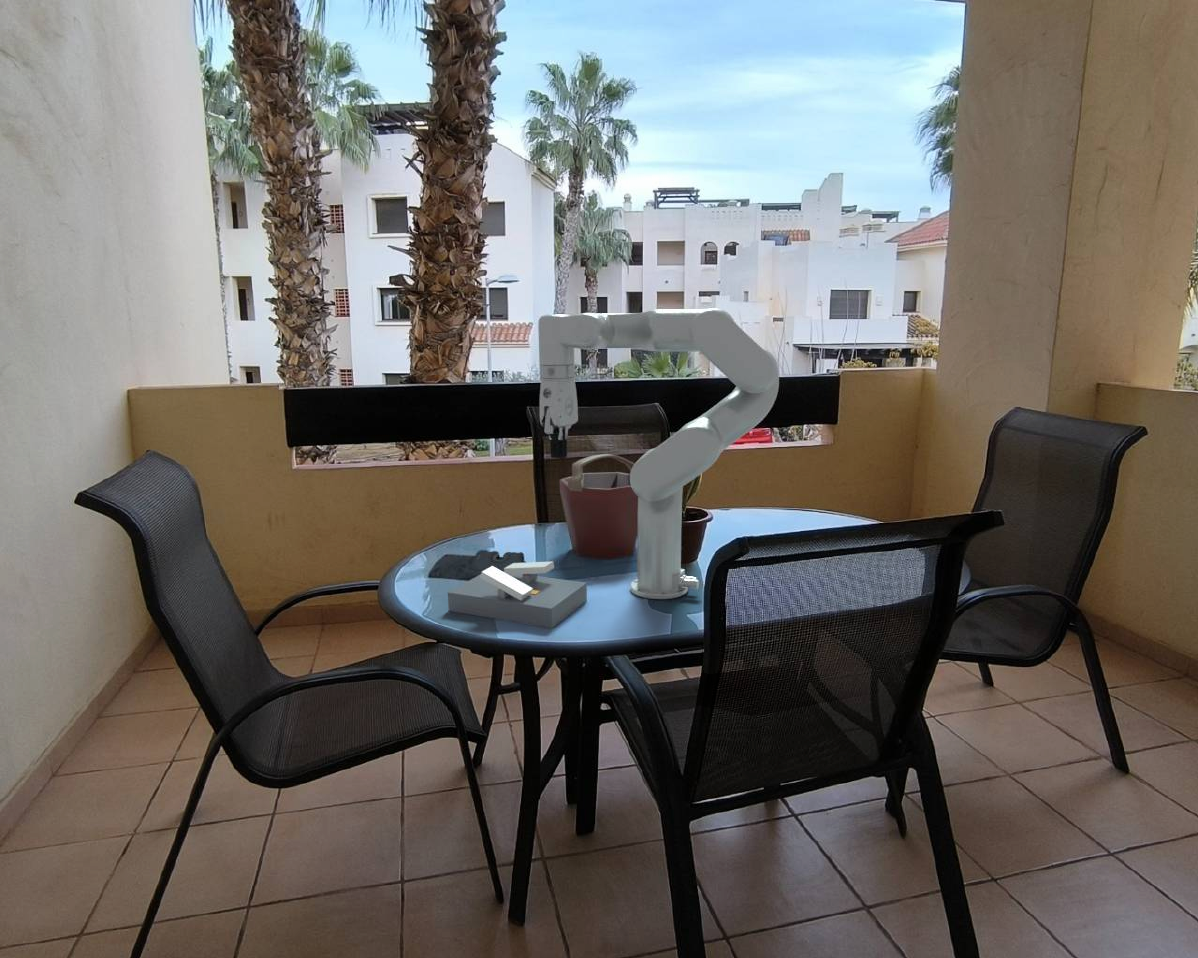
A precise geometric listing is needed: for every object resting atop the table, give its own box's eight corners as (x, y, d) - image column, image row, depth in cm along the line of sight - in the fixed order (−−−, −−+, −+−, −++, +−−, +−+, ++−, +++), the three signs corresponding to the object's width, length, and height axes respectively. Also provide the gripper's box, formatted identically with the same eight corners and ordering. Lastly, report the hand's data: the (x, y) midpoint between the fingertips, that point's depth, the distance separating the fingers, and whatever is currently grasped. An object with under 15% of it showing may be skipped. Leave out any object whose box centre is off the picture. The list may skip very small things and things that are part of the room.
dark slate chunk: (448, 560, 190) (447, 542, 189) (531, 564, 186) (531, 546, 185) (422, 580, 175) (421, 560, 174) (512, 585, 171) (512, 565, 170)
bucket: (582, 568, 181) (580, 466, 176) (542, 546, 200) (539, 453, 195) (665, 552, 193) (666, 456, 188) (619, 533, 212) (619, 445, 207)
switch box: (586, 600, 159) (586, 575, 158) (552, 628, 145) (551, 600, 144) (490, 586, 169) (489, 562, 168) (448, 610, 154) (447, 584, 153)
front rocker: (530, 594, 152) (532, 588, 151) (521, 600, 148) (523, 594, 147) (490, 571, 154) (492, 565, 154) (480, 577, 151) (481, 571, 150)
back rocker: (554, 567, 160) (553, 561, 160) (545, 573, 156) (544, 566, 156) (514, 569, 164) (513, 563, 164) (504, 574, 160) (503, 568, 160)
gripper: (556, 375, 153) (558, 464, 156) (587, 371, 166) (588, 453, 170) (524, 375, 156) (527, 462, 159) (557, 371, 169) (558, 451, 173)
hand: (558, 457), depth 165 cm, fingers closed
